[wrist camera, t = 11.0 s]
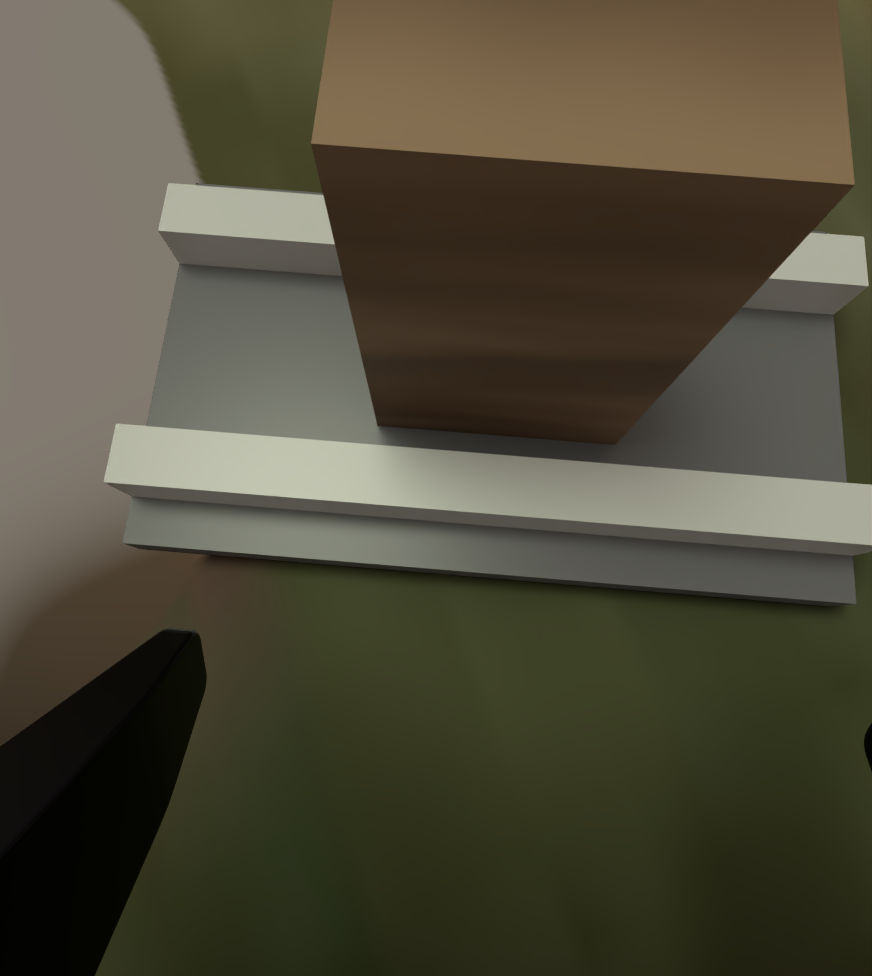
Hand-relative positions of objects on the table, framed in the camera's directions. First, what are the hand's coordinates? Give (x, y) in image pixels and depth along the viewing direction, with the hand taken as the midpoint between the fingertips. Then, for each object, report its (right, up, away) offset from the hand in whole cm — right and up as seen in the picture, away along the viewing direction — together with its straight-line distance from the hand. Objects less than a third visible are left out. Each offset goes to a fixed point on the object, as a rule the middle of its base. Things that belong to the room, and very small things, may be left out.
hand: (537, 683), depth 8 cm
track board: (0, +5, +10) cm, 12 cm away
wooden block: (0, +6, +9) cm, 11 cm away
